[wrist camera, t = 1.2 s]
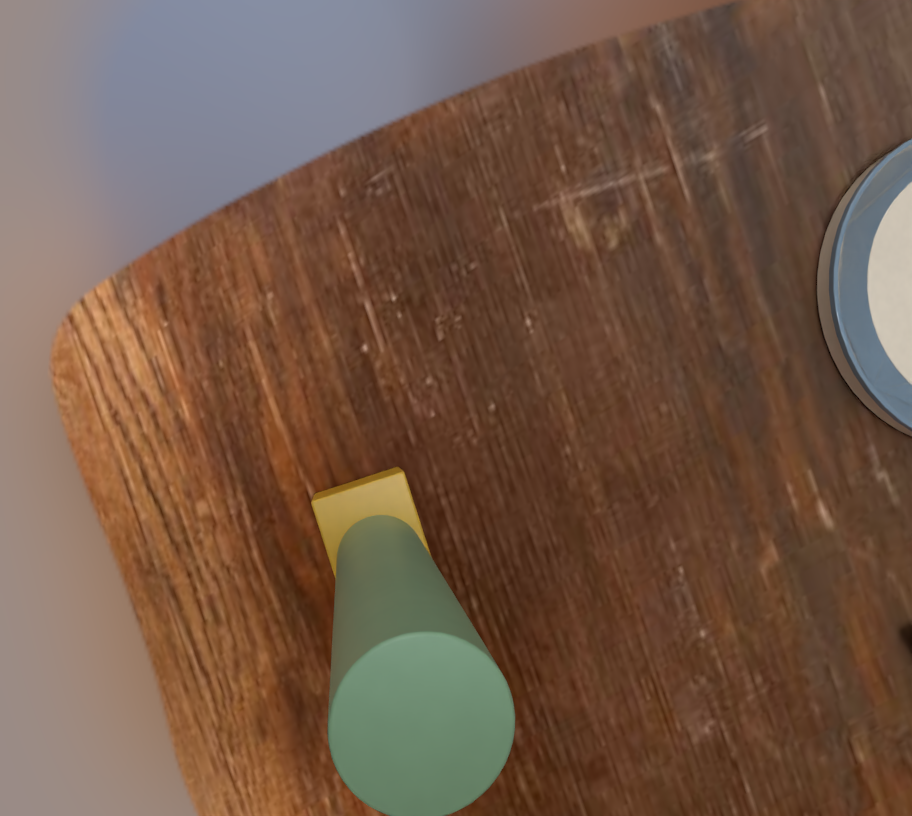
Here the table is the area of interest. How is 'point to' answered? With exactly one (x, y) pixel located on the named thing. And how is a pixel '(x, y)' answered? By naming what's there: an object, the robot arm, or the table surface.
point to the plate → (872, 287)
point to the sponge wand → (405, 661)
